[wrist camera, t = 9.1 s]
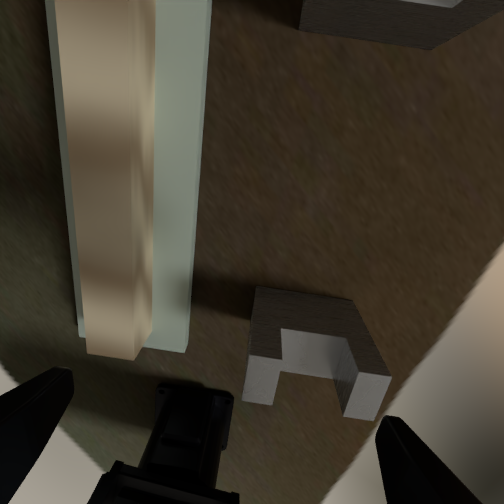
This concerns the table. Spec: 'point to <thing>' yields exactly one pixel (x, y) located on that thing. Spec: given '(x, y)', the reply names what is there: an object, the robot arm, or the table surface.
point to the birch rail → (111, 163)
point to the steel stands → (327, 308)
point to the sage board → (161, 162)
